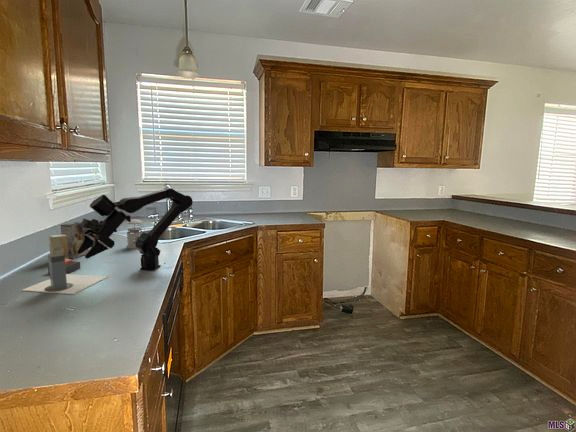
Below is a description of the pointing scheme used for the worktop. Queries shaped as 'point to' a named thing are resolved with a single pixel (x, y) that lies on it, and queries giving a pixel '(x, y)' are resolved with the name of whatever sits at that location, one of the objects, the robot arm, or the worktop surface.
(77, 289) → the paper sheet
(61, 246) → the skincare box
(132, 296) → the worktop surface
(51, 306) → the worktop surface
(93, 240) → the robot arm
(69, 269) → the button socket
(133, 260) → the worktop surface
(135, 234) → the french press
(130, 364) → the worktop surface
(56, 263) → the dark grey block
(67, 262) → the button
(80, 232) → the coffee box
